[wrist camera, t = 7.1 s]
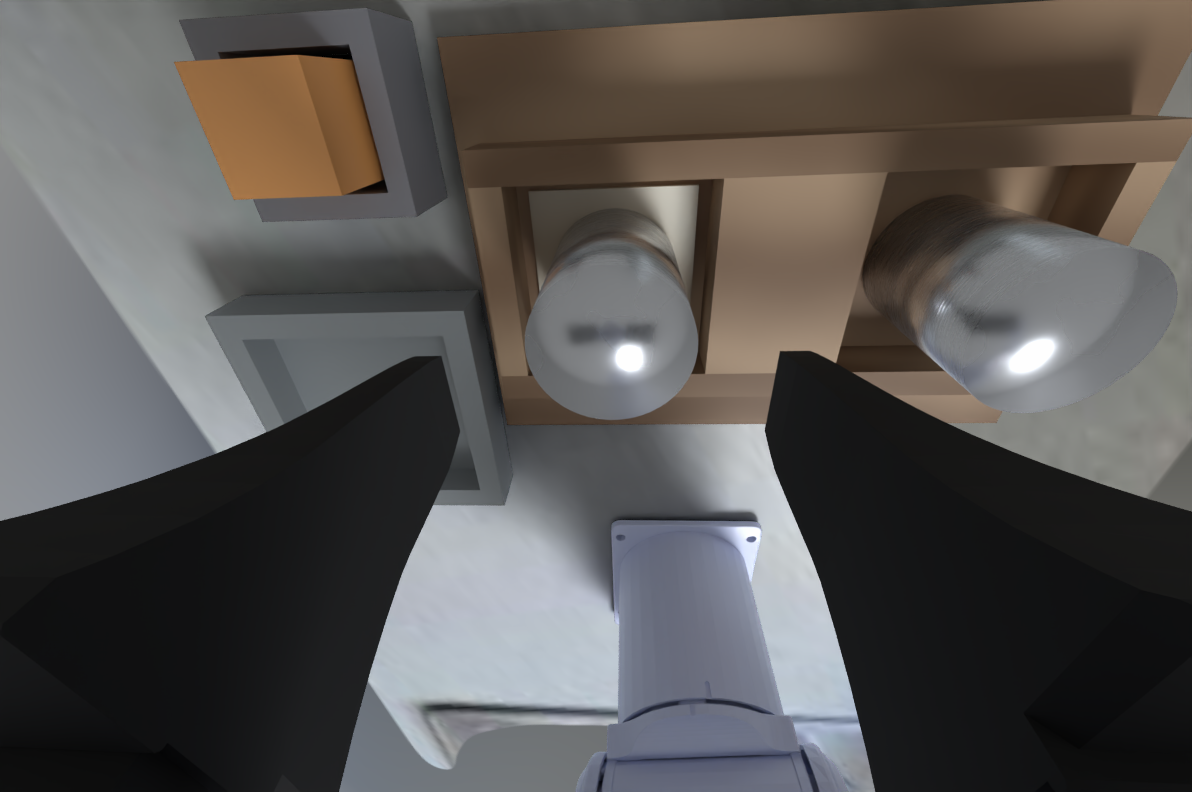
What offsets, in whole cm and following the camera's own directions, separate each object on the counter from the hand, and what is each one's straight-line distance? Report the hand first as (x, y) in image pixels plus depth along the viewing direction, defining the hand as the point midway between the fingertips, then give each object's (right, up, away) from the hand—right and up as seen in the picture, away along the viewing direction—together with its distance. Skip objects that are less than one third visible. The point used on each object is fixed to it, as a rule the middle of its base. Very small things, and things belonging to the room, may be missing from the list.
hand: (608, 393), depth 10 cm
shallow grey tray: (-10, 0, +12) cm, 15 cm away
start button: (-8, +8, +4) cm, 12 cm away
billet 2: (+11, +5, +6) cm, 14 cm away
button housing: (-8, +9, +5) cm, 13 cm away
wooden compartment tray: (+6, +5, +7) cm, 11 cm away
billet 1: (0, +4, +7) cm, 8 cm away
